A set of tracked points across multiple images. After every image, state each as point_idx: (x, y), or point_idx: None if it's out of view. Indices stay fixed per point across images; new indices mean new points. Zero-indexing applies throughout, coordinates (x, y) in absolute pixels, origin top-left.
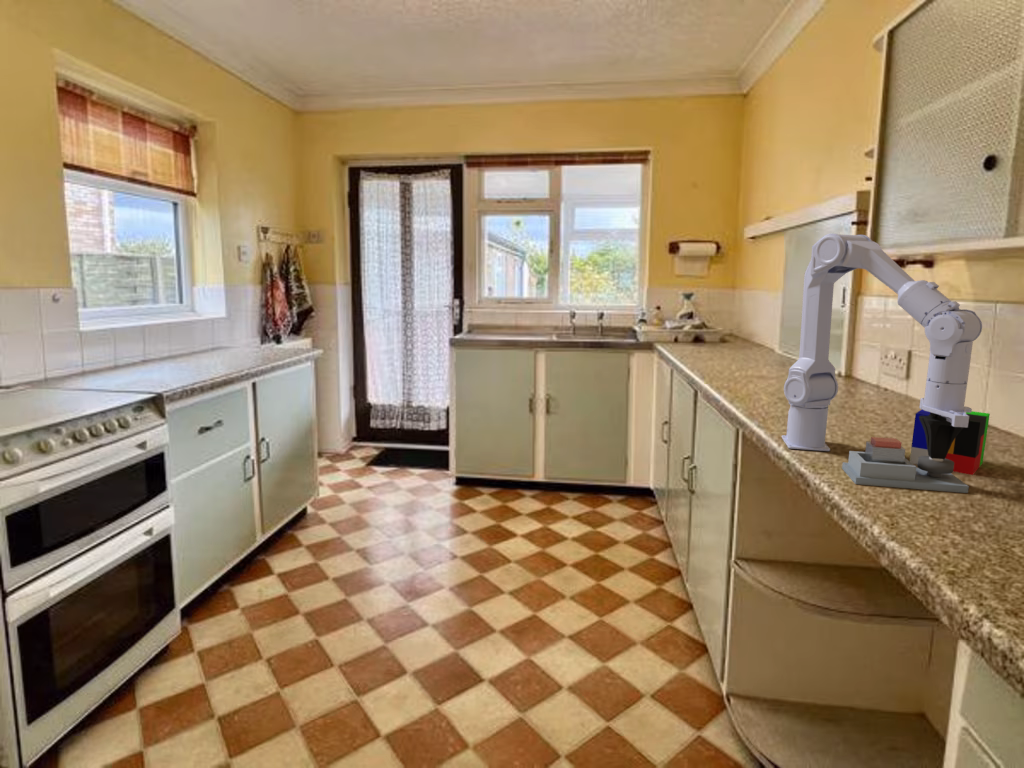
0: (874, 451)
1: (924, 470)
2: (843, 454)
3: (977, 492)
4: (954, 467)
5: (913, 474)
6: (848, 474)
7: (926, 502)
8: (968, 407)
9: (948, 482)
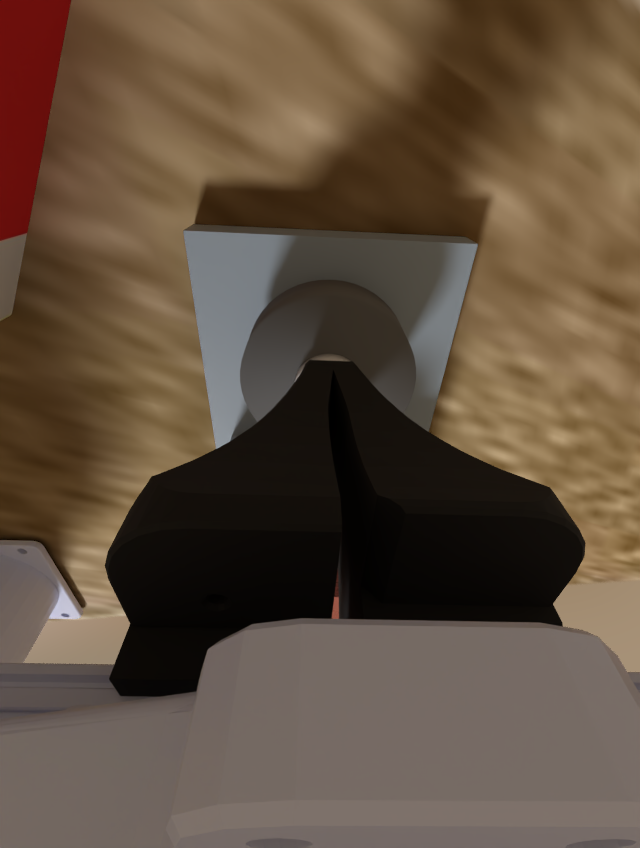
0: None
1: None
2: (44, 510)
3: (451, 171)
4: (34, 104)
5: None
6: None
7: (555, 438)
8: (414, 835)
9: (419, 319)
